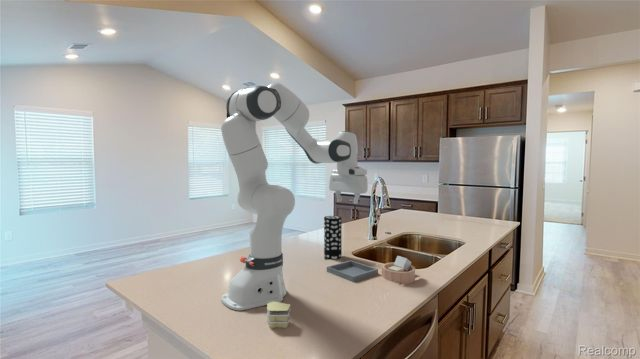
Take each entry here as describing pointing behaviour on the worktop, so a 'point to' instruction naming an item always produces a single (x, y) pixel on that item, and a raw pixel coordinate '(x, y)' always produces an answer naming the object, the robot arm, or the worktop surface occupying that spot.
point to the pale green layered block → (278, 314)
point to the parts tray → (352, 270)
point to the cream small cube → (396, 269)
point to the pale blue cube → (402, 263)
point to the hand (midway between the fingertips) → (347, 202)
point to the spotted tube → (332, 237)
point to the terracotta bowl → (398, 274)
